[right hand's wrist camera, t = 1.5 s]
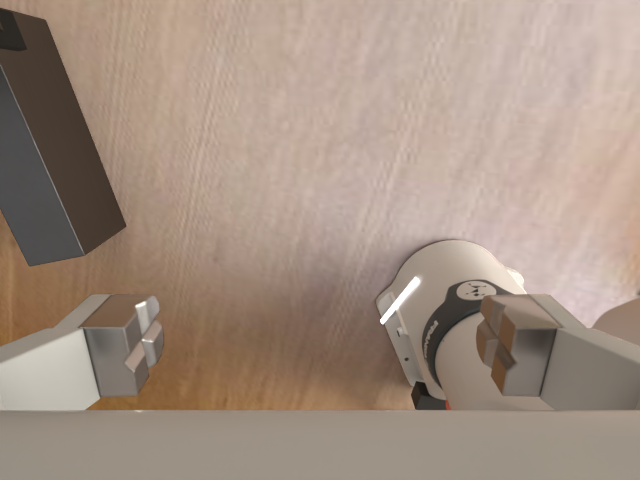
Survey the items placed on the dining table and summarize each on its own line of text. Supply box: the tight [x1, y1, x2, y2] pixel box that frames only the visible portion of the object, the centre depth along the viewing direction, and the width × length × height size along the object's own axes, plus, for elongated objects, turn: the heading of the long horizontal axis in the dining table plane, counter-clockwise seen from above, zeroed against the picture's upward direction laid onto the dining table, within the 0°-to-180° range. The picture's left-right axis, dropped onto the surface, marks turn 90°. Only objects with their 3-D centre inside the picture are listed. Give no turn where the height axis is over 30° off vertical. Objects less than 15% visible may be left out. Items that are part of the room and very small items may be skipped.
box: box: [0, 8, 126, 266], centre depth 41 cm, size 23×6×9 cm, turn 12°
